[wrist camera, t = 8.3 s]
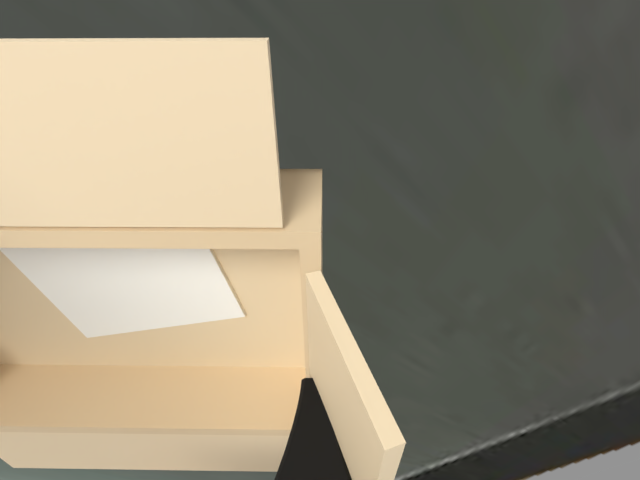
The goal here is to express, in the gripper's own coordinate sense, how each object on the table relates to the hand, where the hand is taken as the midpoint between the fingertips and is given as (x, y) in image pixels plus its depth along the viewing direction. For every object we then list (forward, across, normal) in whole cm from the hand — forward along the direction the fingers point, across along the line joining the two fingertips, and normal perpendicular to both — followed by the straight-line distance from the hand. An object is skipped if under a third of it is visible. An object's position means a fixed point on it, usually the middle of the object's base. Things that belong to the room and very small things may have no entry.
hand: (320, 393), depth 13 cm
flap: (-2, 0, 0) cm, 2 cm away
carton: (+5, -9, 0) cm, 10 cm away
